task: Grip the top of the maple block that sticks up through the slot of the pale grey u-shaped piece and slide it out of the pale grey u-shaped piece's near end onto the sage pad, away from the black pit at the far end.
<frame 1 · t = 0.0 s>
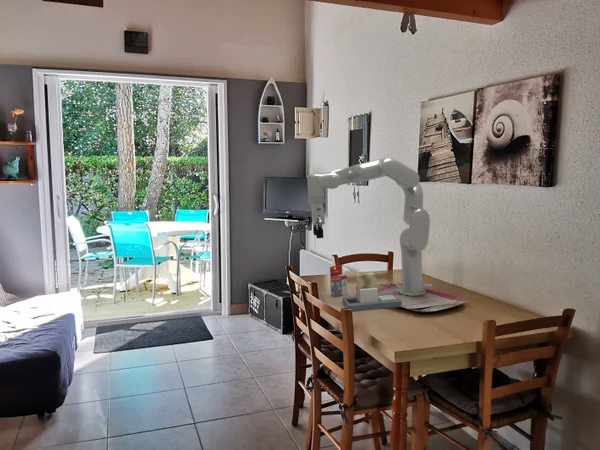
hand: (318, 236, 225), 31 cm above the table, tool pointing down, fingers open, 9 cm apart
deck: (371, 304, 219), on the table
pale grey u-shaped piece: (367, 304, 219), resting on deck
ink box: (339, 295, 237), on the table
block: (367, 299, 218), point 2 cm above the table, touching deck
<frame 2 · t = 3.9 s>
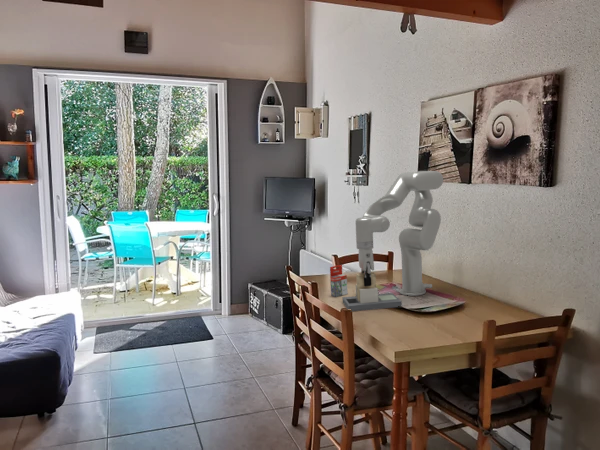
hand: (366, 284, 217), 10 cm above the table, tool pointing down, fingers closed on block, 4 cm apart
block: (367, 299, 218), point 3 cm above the table, touching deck, gripper
everything else where it was.
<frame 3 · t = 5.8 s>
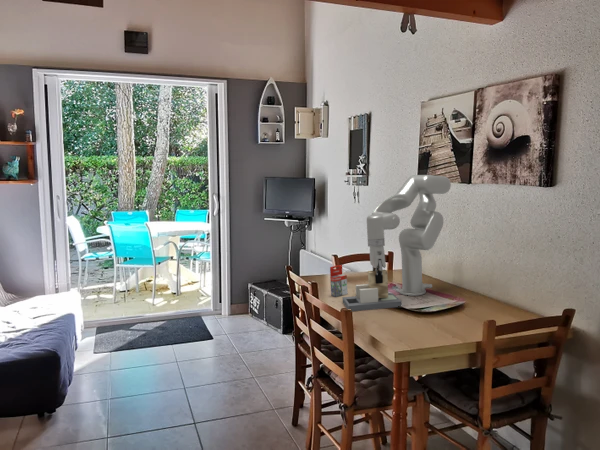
hand: (377, 281, 218), 11 cm above the table, tool pointing down, fingers closed on block, 4 cm apart
block: (378, 296, 219), point 3 cm above the table, touching gripper
everything else where it was.
when the fingers open (10 cm above the table, at t = 7.9 s): block stays where it is, resting on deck.
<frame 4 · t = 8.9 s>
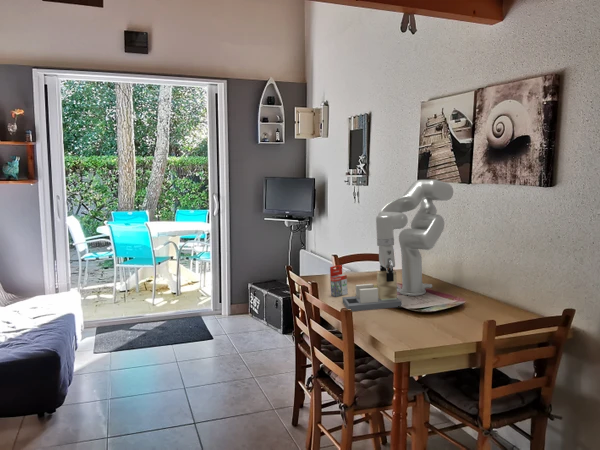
hand: (386, 278, 218), 11 cm above the table, tool pointing down, fingers open, 9 cm apart
block: (387, 297, 219), point 3 cm above the table, touching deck
everything else where it was.
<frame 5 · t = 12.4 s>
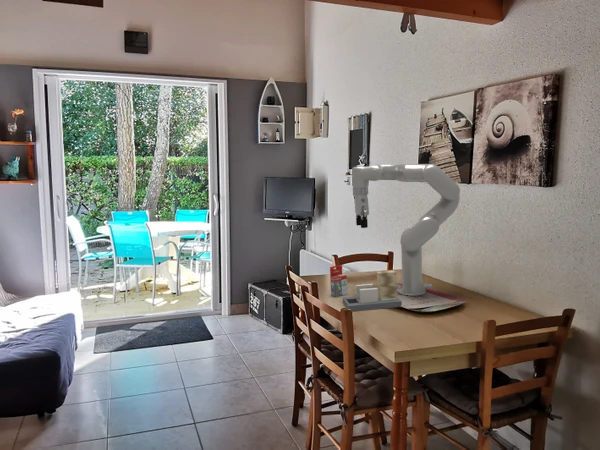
hand: (361, 226, 235), 33 cm above the table, tool pointing down, fingers open, 9 cm apart
nothing on the table moved.
at the end: block 0.8 cm from the target spot, point 2.7 cm above the table; block tilted 0°; the gripper is holding nothing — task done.
